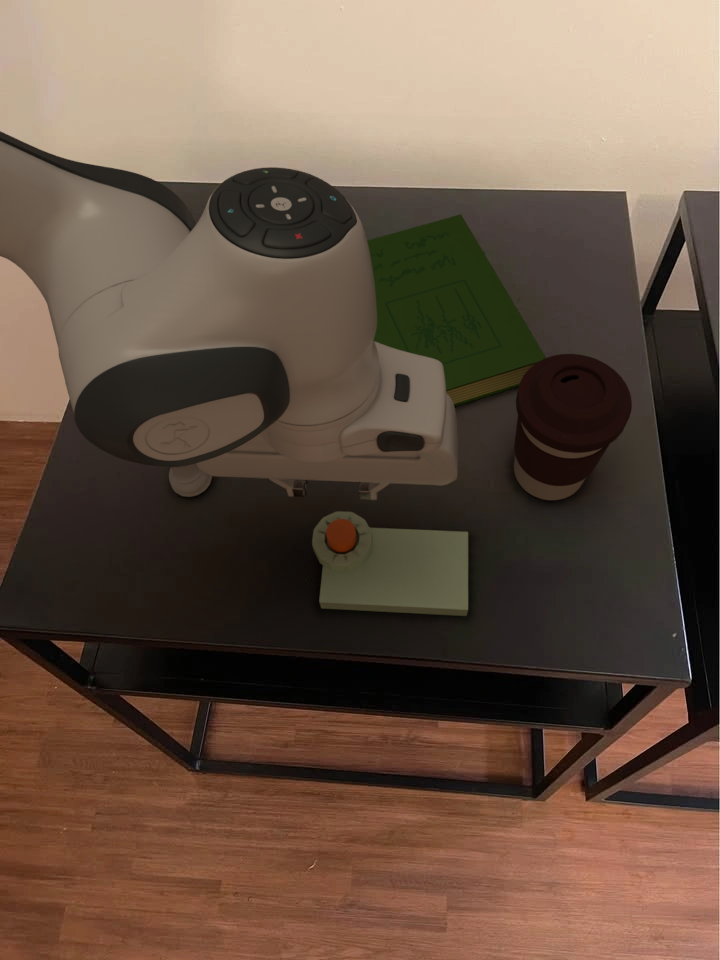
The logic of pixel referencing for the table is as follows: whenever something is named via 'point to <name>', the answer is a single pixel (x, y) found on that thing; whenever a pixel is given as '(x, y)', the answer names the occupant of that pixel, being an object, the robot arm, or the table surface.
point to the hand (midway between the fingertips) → (333, 490)
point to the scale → (394, 569)
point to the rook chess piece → (188, 480)
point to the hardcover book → (450, 309)
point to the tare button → (341, 535)
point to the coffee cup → (566, 422)
